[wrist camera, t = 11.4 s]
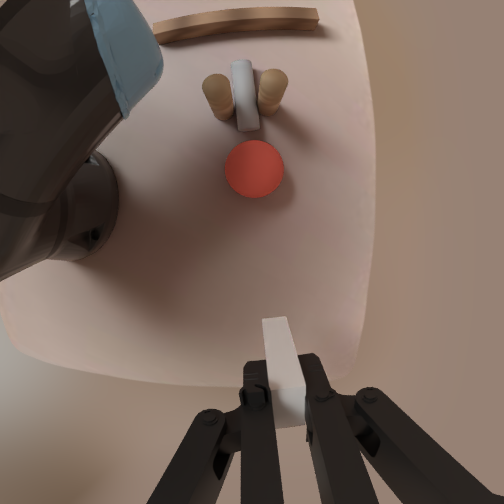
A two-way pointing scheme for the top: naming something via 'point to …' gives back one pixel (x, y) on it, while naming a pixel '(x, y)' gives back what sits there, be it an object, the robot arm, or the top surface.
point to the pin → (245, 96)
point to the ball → (254, 168)
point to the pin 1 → (219, 96)
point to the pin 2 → (271, 91)
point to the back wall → (235, 22)
